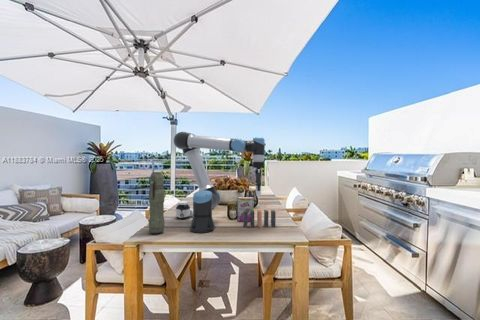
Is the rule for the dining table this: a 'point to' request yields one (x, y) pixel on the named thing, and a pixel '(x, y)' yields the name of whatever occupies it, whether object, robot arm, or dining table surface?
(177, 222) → the dining table surface
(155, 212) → the thermos
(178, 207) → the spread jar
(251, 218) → the domino
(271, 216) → the domino
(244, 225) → the domino
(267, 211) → the domino
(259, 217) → the domino
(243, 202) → the candy bar box
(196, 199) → the robot arm
